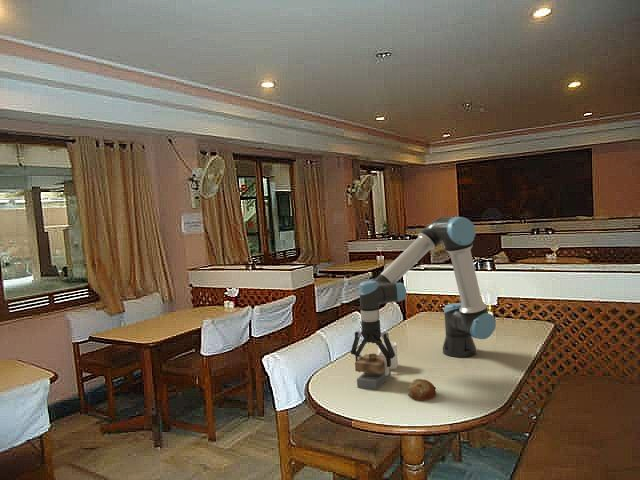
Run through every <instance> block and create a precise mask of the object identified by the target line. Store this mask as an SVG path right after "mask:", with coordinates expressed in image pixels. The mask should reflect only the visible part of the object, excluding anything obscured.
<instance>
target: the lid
mask: <svg viewBox="0 0 640 480" xmlns="http://www.w3.org/2000/svg"><path fill="white" fill-rule="evenodd" d="M385 358H386V357H385V356H380V355H378V354H376V353H373V352H372V353H367V354H366V353H365V354H363V356H362V358H360V359H359V360H358V361H356V360H355V362H354V367H355V372H358V371H359V372H358V373H364V372H368V373H377V374H382V373H383V372H384V371H385V363H384V359H385Z"/></svg>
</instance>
